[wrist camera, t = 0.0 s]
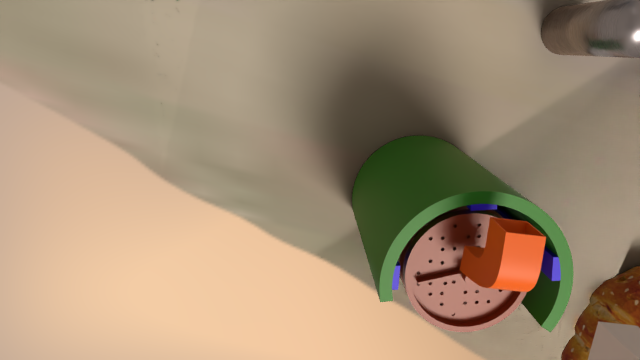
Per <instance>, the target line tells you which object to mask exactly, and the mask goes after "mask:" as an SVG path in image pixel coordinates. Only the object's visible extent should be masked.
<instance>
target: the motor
mask: <svg viewBox="0 0 640 360" xmlns="http://www.w3.org/2000/svg"><path fill="white" fill-rule="evenodd" d="M352 207H353V212H354V215H355V219H356V222H357V225H358V229H359V232H360V235H361V239H362V242H363V245H364V249H365V252H366V255H367V259H368V262H369V265H370V269H371V272H372V276H373V279H374V282H375V286H376V289H377V292H378V296H379V299H380V302H386V301H393V297H392V290H398V284H399V275H400V277H401V280H402V282H403V285H404V287H405V289H406V292H407V294H408V297H409V299H410V301H411V303H412V305H413V307H414V308H415V309H416V311H417V312H418V313H419V314H420V315H421V316H422V317H423V318H424V319H425V320H427V321H428V322H430V323H431V324H433V325H435V326H437V327H440V328H442V329H446V330H450V331H456V332H471V331H477V330H481V329H485V328H488V327H490V326H493V325H495V324H497V323H499V322H500V321H502V320H503V319H505V318H506V317H507V316H509V315H510V314H511V313H512V312H513V311H514V310H515V309H516V308H517V307H518V306H519V304H520V303H521V302H522V304H523V305H524V306H525V307H526V309H527V310H528V311H529V312H530V313H531V315H532V316H533V317H534V318H535V319H536V321H537V322H538V323H539V324H540V326H541V327H543V328H545V329H546V330H548V331H549V332H551V331H552V330H553V329H554V327H555V326H556V324H557V323H558V322H559V320H560V318H561V317H562V315H563V313H564V311H565V309H566V306H567V304H568V301H569V298H570V294H571V290H572V284H573V262H572V256H571V252H570V249H569V246H568V243H567V241H566V238H565V237H564V235H563V233H562V231H561V230H560V228H559V227H558V225H557V224H556V223H555V222H554V220H553V219H552V218H551V217H550V216H549V215H548V214H547V213H545V212H544V211H543V210H542V209H540V208H539V207H538V206H536V205H535V204H533V203H532V202H531V201H529V200H528V199H527V198H525V197H524V196H522V195H521V194H520V193H518V192H517V191H516V190H514V189H513V188H511V187H510V186H509V185H507V184H506V183H505V182H503V181H502V180H500V179H499V178H498V177H496V176H495V175H494V174H492V173H491V172H489V171H488V170H487V169H485V168H484V167H483V166H481V165H480V164H478V163H477V162H476V161H474V160H473V159H471V158H470V157H469V156H467V155H466V154H465V153H463V152H462V151H460V150H459V149H458V148H456V147H455V146H453V145H452V144H450V143H448V142H446V141H444V140H442V139H439V138H435V137H431V136H421V135H417V136H407V137H403V138H399V139H396V140H394V141H391V142H389V143H387V144H385V145H384V146H382V147H381V148H379V149H378V150H377V151H375V152H374V153H373V154H372V155H371V156H370V157H369V158H368V159H367V161H366V162H365V163H364V164H363V166H362V168H361V169H360V171H359V173H358V175H357V177H356V180H355V183H354V187H353V193H352Z"/></svg>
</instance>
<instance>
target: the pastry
mask: <svg viewBox="0 0 640 360" xmlns="http://www.w3.org/2000/svg"><path fill="white" fill-rule="evenodd" d="M589 300H590V303H589V305H588V306H587V308H586V309H585V310H584V311H583V312H582V314H581V316H580V317H579V319H578V321H577V323H576V325H575V333H576V334H575V335H574V336H573V337H572V338H571V339H570V340H569V342H568V343H567V345H566V347H565V348H564V350H563V352H562V356H561V358H562V359H561V360H588V357H589V353H590V350H591V346H592V342H593V339H594V335H595V332H596V328H597V325H598V322H607V323H616V324H625V325H634V326H638V327H639V328H640V266H637V267H633V268H631V269H630V270H628V271H626V272H624V273H622V274H619V275H617V276H615V277H613V278H611V279H609V280H606V281H604V282H603V283H602V284H601V285H600V286H599V287H598V288H597V289H596V290H595V291H594V292H593V294H592V295H591V297H590V299H589Z"/></svg>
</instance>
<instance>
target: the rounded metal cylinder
mask: <svg viewBox="0 0 640 360" xmlns="http://www.w3.org/2000/svg"><path fill="white" fill-rule="evenodd" d="M541 37H542V41H543V43H544V45H545V47H546V48H547V49H548V50H549V51H551V52H552V53H555V54H559V55H579V56H604V57H629V58H640V0H604V1H597V2H591V3H584V4H577V5H570V6H563V7H559V8H557V9H555V10H553V11H552V12H551V13H550V14H549V15H548V16H547V17H546V19H545V20H544V22H543V25H542V30H541Z"/></svg>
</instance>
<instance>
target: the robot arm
mask: <svg viewBox="0 0 640 360" xmlns="http://www.w3.org/2000/svg"><path fill="white" fill-rule="evenodd" d="M588 360H640V328H639V327H638V326H634V325H625V324H616V323H607V322H598V325H597V328H596V332H595V335H594V339H593V342H592V346H591V350H590V353H589V357H588Z"/></svg>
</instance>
